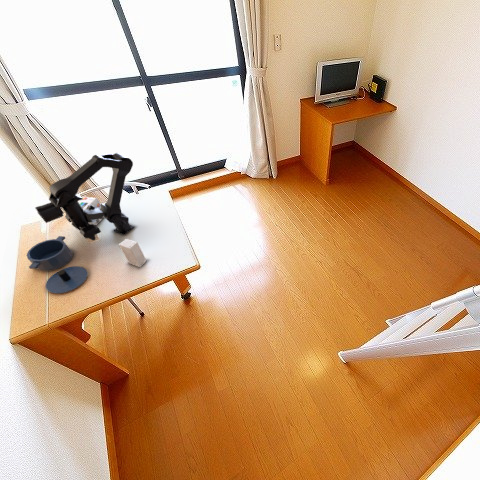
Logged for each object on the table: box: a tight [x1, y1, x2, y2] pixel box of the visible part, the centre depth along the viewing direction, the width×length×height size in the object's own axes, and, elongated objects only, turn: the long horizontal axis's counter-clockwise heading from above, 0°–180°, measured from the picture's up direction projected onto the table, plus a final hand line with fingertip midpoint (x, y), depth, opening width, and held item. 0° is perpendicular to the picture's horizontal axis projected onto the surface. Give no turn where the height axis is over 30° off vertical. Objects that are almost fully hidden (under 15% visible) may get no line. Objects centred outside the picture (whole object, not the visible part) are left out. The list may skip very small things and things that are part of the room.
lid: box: [45, 265, 89, 295], centre depth 113 cm, size 14×14×6 cm
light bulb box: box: [78, 196, 105, 226], centre depth 137 cm, size 11×7×11 cm, turn 179°
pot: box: [26, 235, 74, 272], centre depth 119 cm, size 13×18×6 cm
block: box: [84, 234, 100, 244], centre depth 127 cm, size 4×4×4 cm
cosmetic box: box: [118, 238, 147, 268], centre depth 121 cm, size 6×4×12 cm
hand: (91, 237), depth 128 cm, fingers closed on block, 4 cm apart
